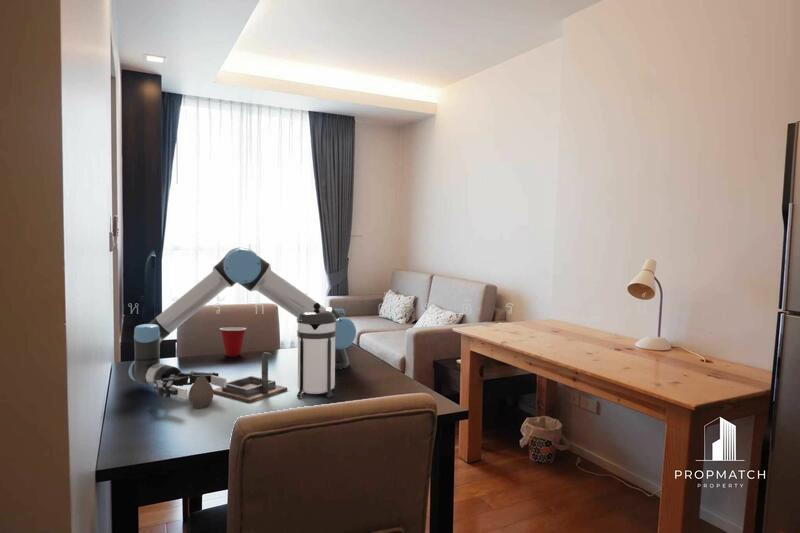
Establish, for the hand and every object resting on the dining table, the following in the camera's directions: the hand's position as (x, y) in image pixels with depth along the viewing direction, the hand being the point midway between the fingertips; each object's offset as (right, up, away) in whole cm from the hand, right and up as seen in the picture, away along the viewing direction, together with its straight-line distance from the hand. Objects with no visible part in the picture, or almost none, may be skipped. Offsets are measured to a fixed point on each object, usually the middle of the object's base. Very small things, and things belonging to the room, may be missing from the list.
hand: (206, 388), depth 152 cm
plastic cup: (-15, -2, +70) cm, 71 cm away
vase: (-2, -6, +2) cm, 7 cm away
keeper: (+8, -5, +17) cm, 20 cm away
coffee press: (+30, -6, +17) cm, 35 cm away
